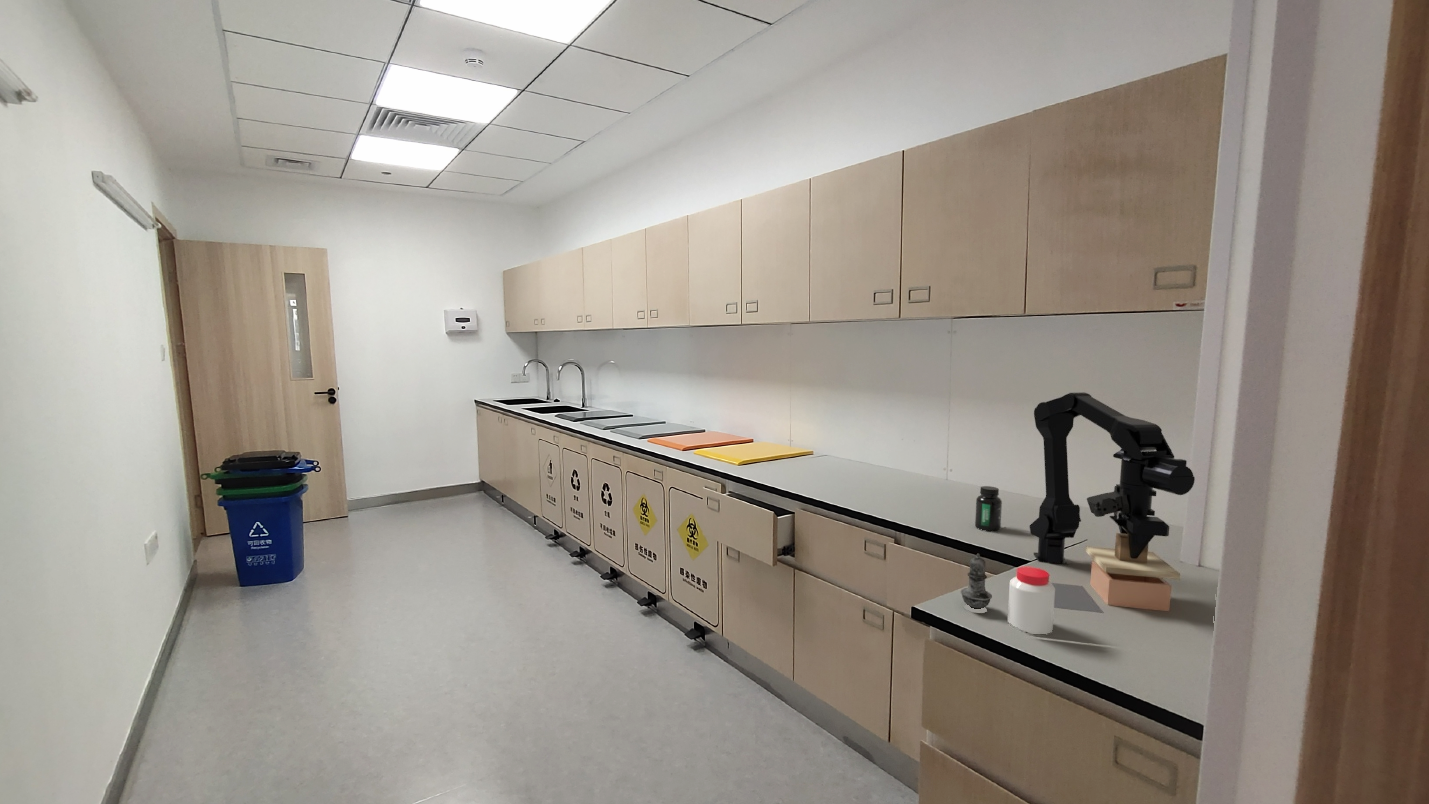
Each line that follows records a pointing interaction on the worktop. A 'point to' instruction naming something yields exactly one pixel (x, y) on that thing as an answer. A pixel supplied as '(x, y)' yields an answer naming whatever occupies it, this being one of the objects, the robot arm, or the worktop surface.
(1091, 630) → the worktop surface
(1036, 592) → the pill bottle
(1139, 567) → the lid
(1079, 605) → the mat
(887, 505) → the worktop surface
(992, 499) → the supplement bottle
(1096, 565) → the pink open tray
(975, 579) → the grey figurine
